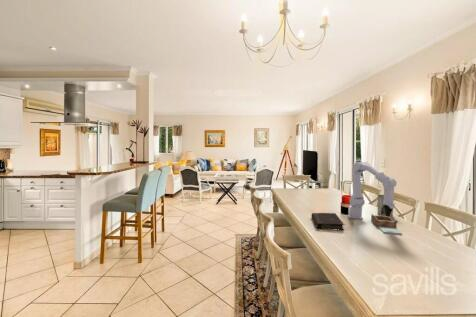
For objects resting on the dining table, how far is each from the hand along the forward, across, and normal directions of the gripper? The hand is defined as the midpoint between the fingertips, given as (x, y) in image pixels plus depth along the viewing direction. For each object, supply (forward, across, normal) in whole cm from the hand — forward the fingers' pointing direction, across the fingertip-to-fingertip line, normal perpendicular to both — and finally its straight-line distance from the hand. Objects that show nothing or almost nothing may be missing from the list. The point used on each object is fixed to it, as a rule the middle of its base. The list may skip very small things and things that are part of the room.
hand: (387, 216), depth 164 cm
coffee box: (+9, +35, -9) cm, 38 cm away
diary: (+9, -1, +39) cm, 40 cm away
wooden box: (+8, +8, 0) cm, 12 cm away
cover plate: (+9, -5, 0) cm, 10 cm away
